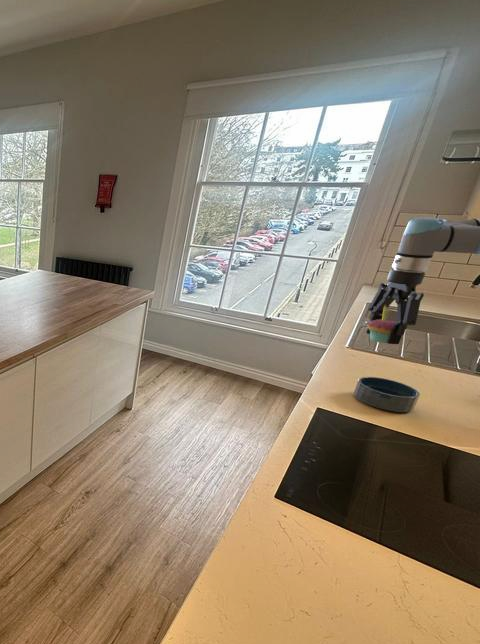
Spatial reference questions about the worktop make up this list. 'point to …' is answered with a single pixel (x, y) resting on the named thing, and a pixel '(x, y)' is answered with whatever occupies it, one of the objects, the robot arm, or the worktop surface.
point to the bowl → (386, 394)
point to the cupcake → (380, 328)
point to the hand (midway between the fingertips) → (381, 338)
